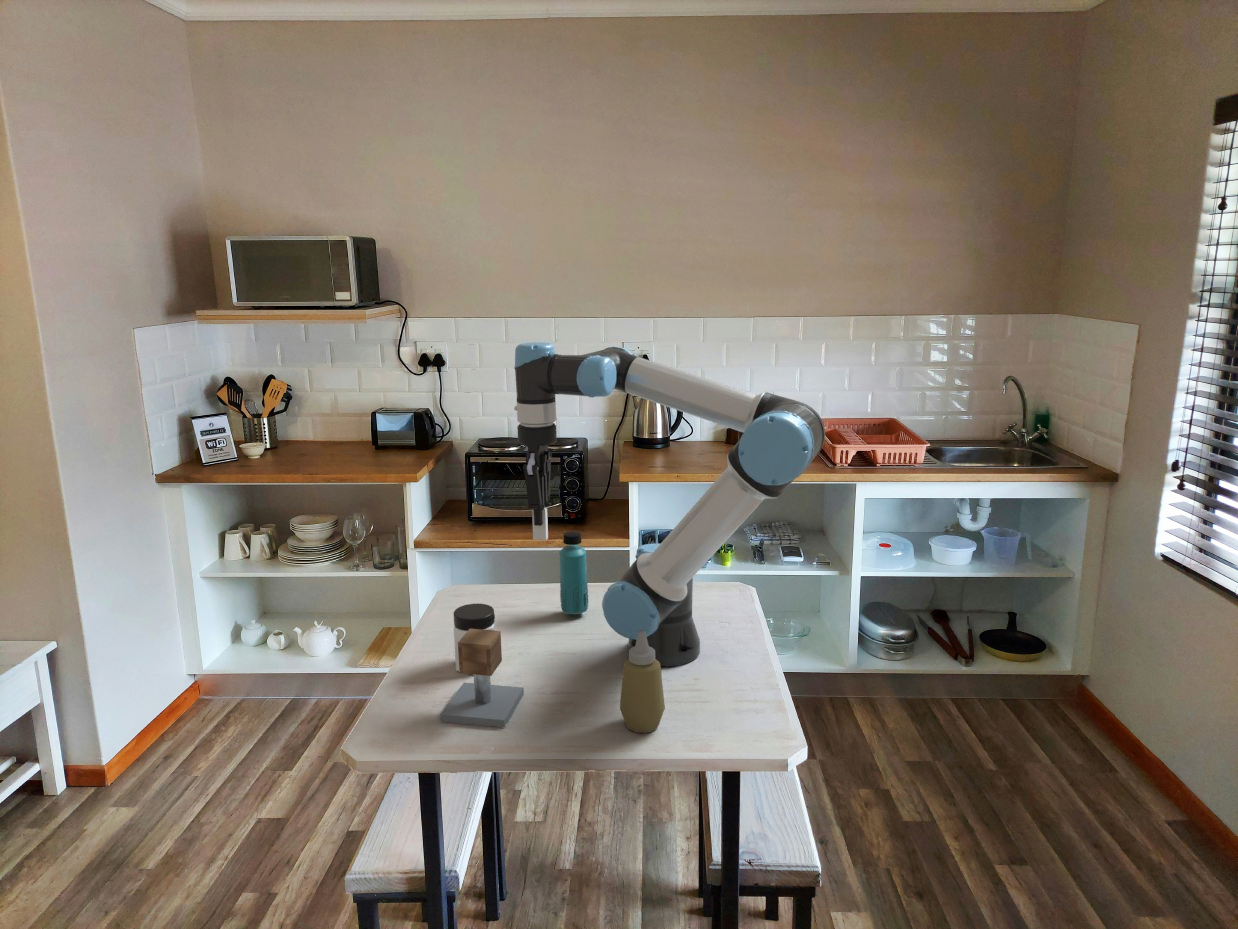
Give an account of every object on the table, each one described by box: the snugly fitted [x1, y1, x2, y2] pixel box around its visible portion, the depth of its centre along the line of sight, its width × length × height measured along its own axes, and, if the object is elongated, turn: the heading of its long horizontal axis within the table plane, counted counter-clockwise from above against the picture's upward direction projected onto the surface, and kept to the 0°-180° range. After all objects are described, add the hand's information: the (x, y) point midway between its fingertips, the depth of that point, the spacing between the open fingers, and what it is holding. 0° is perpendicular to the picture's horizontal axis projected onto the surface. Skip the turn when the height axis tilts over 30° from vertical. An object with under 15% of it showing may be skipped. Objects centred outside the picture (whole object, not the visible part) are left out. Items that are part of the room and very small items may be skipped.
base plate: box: [439, 682, 525, 728], centre depth 160 cm, size 12×12×2 cm
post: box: [473, 675, 492, 705], centre depth 158 cm, size 3×3×12 cm
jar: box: [453, 603, 496, 676], centre depth 175 cm, size 9×8×12 cm
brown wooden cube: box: [458, 629, 503, 677], centre depth 157 cm, size 6×6×6 cm
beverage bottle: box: [559, 531, 590, 615], centre depth 198 cm, size 6×7×20 cm
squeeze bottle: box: [619, 630, 666, 734], centre depth 152 cm, size 8×8×18 cm
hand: (540, 538), depth 172 cm, fingers closed
